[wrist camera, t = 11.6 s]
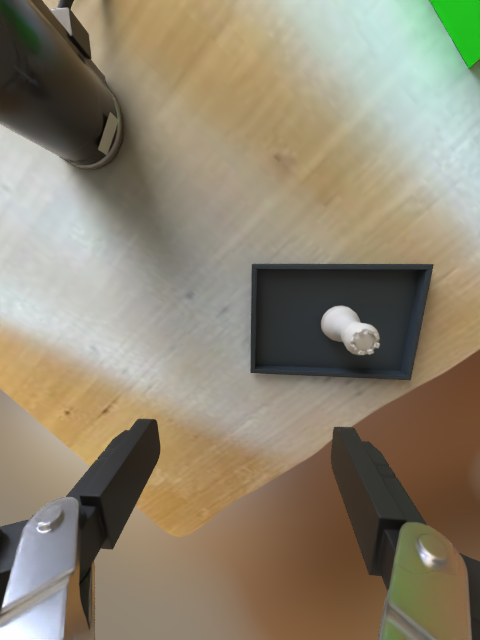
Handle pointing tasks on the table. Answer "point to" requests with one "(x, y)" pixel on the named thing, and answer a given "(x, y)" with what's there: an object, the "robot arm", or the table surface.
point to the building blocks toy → (462, 26)
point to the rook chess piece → (350, 330)
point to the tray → (325, 293)
